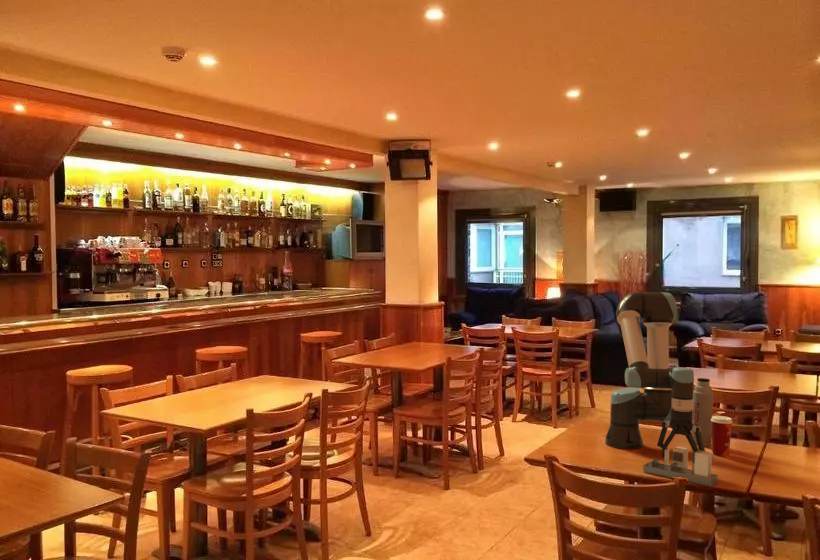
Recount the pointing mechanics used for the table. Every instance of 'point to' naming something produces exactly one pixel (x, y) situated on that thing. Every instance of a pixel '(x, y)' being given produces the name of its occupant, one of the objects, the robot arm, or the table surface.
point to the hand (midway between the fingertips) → (680, 469)
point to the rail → (694, 476)
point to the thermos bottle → (703, 410)
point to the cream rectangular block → (681, 456)
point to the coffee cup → (721, 435)
